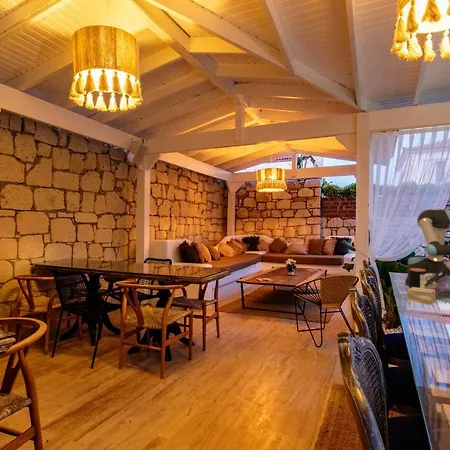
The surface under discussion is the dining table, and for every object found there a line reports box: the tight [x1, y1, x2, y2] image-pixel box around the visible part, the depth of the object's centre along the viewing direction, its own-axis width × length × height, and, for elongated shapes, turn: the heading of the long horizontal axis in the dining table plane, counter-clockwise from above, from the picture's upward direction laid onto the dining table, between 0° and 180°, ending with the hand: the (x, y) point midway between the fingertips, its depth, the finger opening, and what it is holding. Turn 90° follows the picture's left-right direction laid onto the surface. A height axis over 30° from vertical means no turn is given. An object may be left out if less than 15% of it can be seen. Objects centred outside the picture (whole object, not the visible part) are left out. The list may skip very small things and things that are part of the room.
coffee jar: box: [408, 268, 427, 289], centre depth 258 cm, size 11×11×18 cm
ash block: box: [406, 287, 437, 306], centre depth 235 cm, size 12×14×8 cm
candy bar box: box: [420, 273, 437, 298], centre depth 246 cm, size 11×5×16 cm, turn 119°
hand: (423, 287), depth 247 cm, fingers closed on candy bar box, 12 cm apart
